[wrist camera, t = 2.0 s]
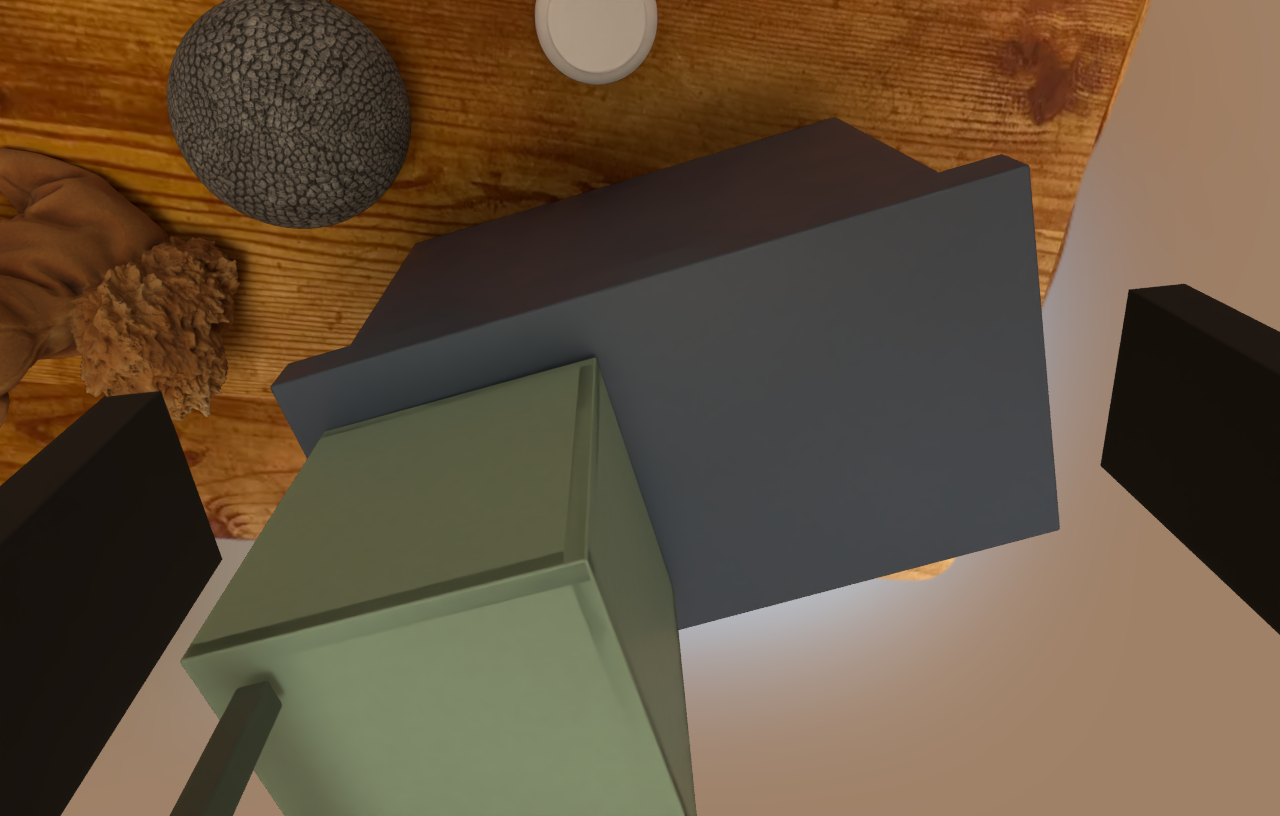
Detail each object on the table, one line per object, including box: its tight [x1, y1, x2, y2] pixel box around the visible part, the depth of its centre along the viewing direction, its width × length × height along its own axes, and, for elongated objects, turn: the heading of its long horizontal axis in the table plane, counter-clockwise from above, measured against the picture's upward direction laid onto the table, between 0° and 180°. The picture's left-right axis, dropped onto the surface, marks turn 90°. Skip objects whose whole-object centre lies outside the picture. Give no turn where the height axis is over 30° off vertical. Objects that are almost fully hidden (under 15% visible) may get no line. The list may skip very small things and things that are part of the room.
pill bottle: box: [535, 0, 658, 85], centre depth 39 cm, size 5×5×9 cm
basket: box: [170, 358, 697, 816], centre depth 23 cm, size 19×11×10 cm
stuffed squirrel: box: [0, 148, 241, 427], centre depth 41 cm, size 10×14×13 cm
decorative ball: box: [167, 0, 411, 229], centre depth 39 cm, size 10×10×10 cm
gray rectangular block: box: [271, 117, 1060, 630], centre depth 40 cm, size 25×14×20 cm, turn 106°
